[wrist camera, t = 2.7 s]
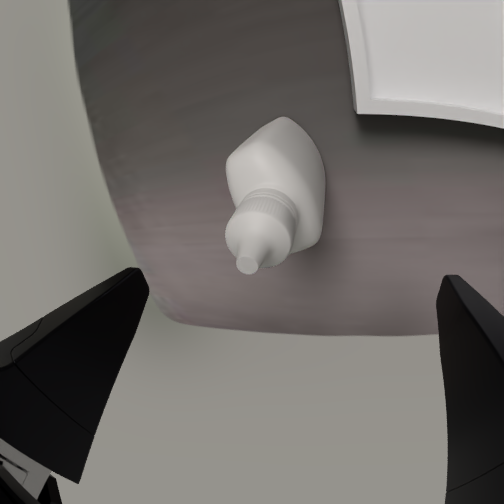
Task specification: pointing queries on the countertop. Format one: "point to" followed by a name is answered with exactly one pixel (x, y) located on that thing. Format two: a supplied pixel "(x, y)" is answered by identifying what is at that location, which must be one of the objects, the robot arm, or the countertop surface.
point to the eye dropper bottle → (274, 195)
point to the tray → (427, 58)
